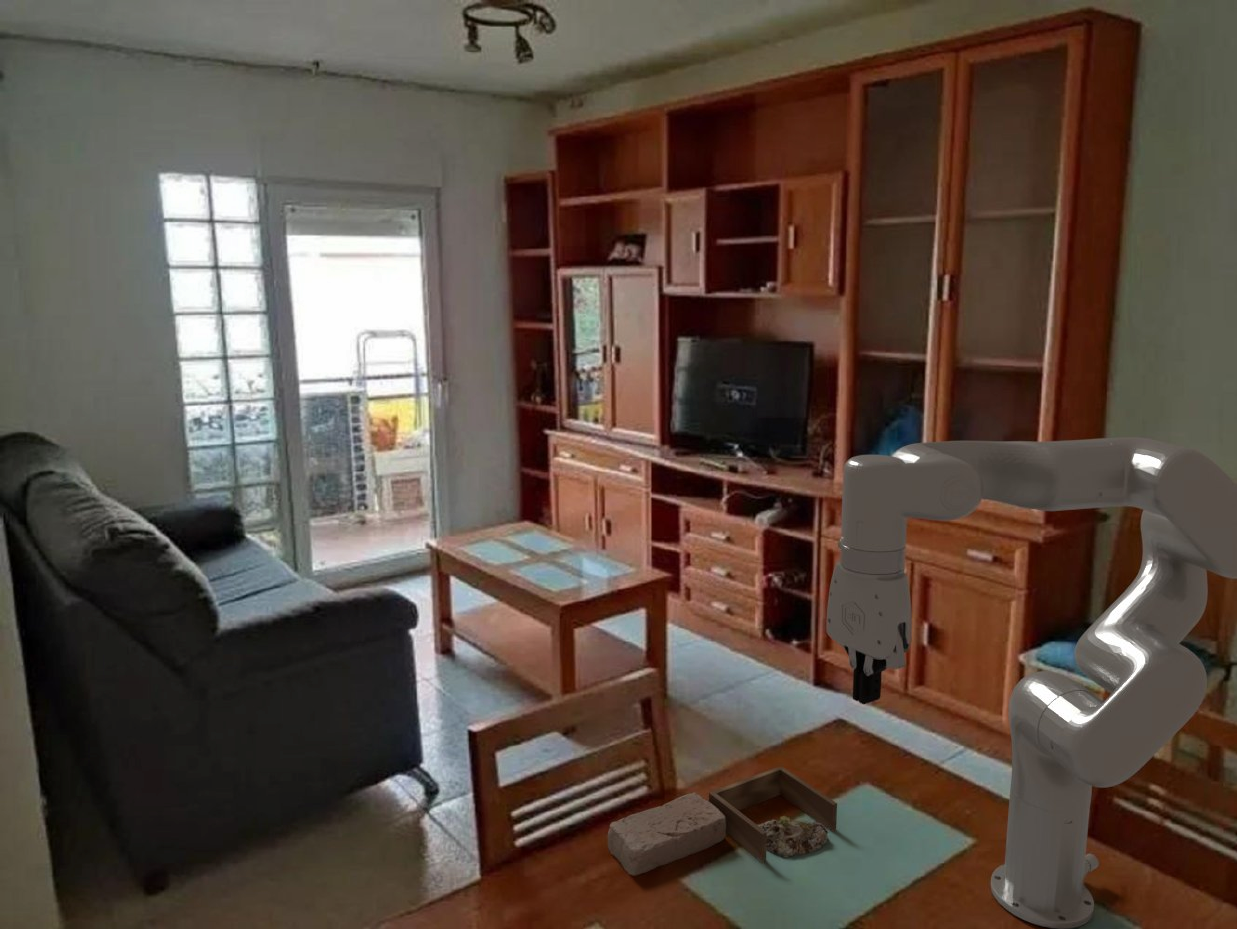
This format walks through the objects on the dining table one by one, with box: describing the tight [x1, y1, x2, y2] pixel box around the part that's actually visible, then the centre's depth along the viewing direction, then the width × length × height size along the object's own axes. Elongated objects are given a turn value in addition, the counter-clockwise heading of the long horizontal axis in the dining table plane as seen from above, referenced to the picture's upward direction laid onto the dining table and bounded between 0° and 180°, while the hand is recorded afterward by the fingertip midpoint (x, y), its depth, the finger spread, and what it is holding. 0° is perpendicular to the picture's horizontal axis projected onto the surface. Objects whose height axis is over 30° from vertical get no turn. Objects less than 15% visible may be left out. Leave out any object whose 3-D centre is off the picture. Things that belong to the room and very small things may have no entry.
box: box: [708, 765, 838, 863], centre depth 139 cm, size 15×13×4 cm
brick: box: [607, 791, 726, 877], centre depth 134 cm, size 17×8×5 cm, turn 120°
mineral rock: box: [757, 815, 829, 858], centre depth 135 cm, size 11×4×8 cm
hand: (866, 699), depth 112 cm, fingers closed
